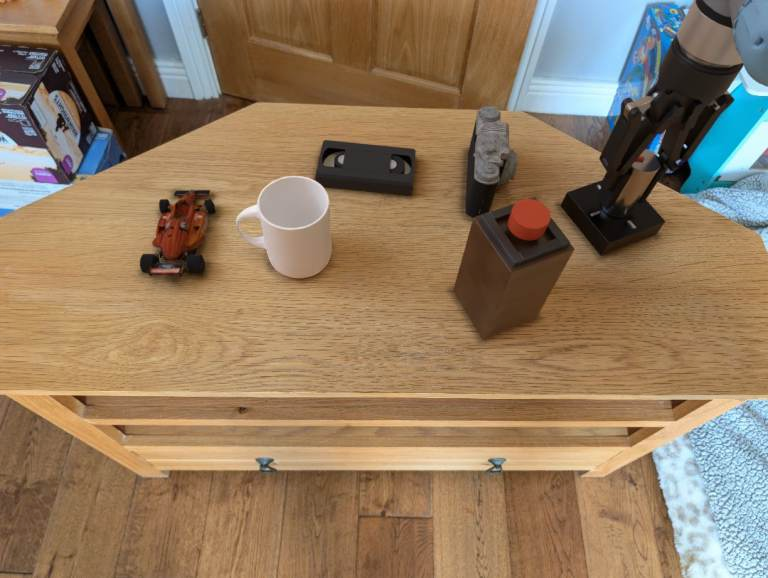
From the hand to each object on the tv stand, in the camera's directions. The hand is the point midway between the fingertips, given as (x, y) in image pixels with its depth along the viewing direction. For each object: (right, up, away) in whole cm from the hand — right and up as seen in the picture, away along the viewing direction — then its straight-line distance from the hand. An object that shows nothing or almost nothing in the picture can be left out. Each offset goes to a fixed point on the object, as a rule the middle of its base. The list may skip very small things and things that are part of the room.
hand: (620, 198), depth 78 cm
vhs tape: (-36, +5, +7) cm, 37 cm away
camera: (-17, +3, +7) cm, 19 cm away
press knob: (-18, -6, -19) cm, 26 cm away
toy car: (-60, -6, -1) cm, 61 cm away
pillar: (-19, -15, -5) cm, 24 cm away
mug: (-46, -8, -2) cm, 47 cm away
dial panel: (0, -3, +4) cm, 5 cm away
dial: (0, -1, +1) cm, 2 cm away
